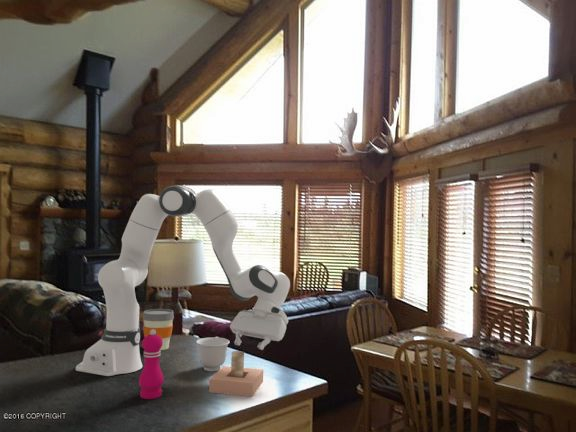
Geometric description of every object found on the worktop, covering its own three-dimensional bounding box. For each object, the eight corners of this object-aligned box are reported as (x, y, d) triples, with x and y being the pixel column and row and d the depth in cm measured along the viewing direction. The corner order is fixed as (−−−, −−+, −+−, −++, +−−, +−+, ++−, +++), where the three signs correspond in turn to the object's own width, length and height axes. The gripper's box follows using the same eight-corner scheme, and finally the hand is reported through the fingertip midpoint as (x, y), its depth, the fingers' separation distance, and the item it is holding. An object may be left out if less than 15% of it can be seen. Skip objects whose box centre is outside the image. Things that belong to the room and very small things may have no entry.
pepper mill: (156, 401, 142) (158, 332, 142) (133, 398, 143) (135, 331, 143) (167, 392, 149) (169, 327, 149) (145, 390, 150) (147, 326, 150)
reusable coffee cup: (148, 343, 207) (149, 308, 207) (177, 344, 205) (178, 309, 206) (136, 350, 194) (137, 313, 194) (166, 352, 193) (167, 315, 193)
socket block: (209, 392, 150) (209, 379, 150) (222, 378, 164) (223, 366, 164) (252, 396, 147) (253, 383, 147) (263, 381, 161) (263, 369, 161)
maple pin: (229, 388, 154) (230, 353, 154) (232, 384, 158) (233, 350, 158) (241, 389, 153) (242, 354, 153) (244, 385, 157) (245, 351, 157)
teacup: (232, 362, 182) (233, 335, 182) (226, 374, 167) (227, 346, 167) (200, 361, 182) (201, 334, 182) (191, 373, 167) (192, 344, 168)
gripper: (237, 304, 172) (219, 336, 164) (286, 310, 162) (270, 345, 154) (244, 314, 176) (227, 346, 168) (292, 321, 166) (277, 356, 157)
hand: (248, 346), depth 161 cm, fingers open, 8 cm apart
